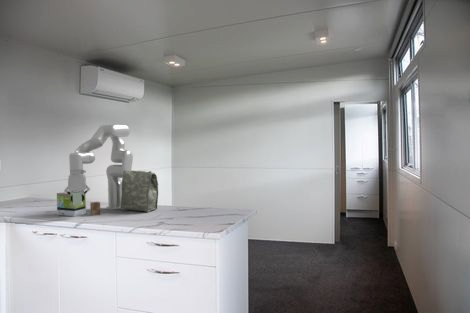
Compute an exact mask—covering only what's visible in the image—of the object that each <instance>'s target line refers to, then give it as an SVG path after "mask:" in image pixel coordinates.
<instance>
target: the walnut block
mask: <svg viewBox="0 0 470 313" xmlns="http://www.w3.org/2000/svg"><path fill="white" fill-rule="evenodd" d="M90 215H91V216H100V215H101V202H100V201H91V202H90Z"/></svg>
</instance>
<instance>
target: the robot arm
mask: <svg viewBox="0 0 470 313" xmlns="http://www.w3.org/2000/svg"><path fill="white" fill-rule="evenodd" d="M130 133H131V129H130V127H129V125H126V124H113V123H112V124H102V125H100V126H99V127H98V128H97V130H96V132H94V134H93V135H92V136H91V138H89V140H86V141H85V142H83V143H81V145H79V146H78V147H77V148H76V149H75V150H74V152H71V153H69V155H68V160H69V175H68V178H67V187H65V189H64V191H63V192H66V193H68V194H69V195H70V196H71V201H72V202H73V192H75V191H81V192H82V202H83V201H84V200H85V197H86V194H87V193H88V192H89V191H90V190H91V188H90V187H89V186H88V185H87V181H86V180H87V179H86V175H85V173H86V172H87V171H86V170H84V164H85V165H89V164H92V163H94V162H95V161H96V155H95V154H94V153H93V152H92V151H94V150H98V149H100V148H101V147H103V146H104V144H105V143H106V141H107V140H108V138H110V139H111V141H112V146H111V152H110V154H111V155H110V161H111V163H114V164H110V165H108V166H107V167H106V170H105V173H106V177H107V195H108V196H107V198H108V199H107V200H108V202H107V203H108V206H106V207H105V209H106V210H109V211H113V210H115V211H116V210H122V209H124V208H120V207H121V195H122V178H123V174H124V172H125V171H131V170H132V167H133V158H134V155H133V153H132V151H130V150H129V149H125V143H126V142H125V140H124V139H123V138H126V137H128V136H129V135H130ZM69 191H71V193H70V192H69ZM84 195H85V197H84Z"/></svg>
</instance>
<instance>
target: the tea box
mask: <svg viewBox="0 0 470 313" xmlns="http://www.w3.org/2000/svg"><path fill="white" fill-rule="evenodd" d="M68 191H69V190H68ZM69 192H70V193H71V191H69ZM84 197H85V200H84V201H83V204H82V205H75V206H73V202H72V201H71V196H70V195H69V194H68V193H66V192H65V191H62V192H57V193H56V213H57V214H56V215H57V216H67V217H79V216H82V215H85V214H86V213H87V212H86V211H87V210H86V208H87V206H86V205H87V204H86V200H87V199H86V194H85V195H84Z"/></svg>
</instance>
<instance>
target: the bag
mask: <svg viewBox="0 0 470 313" xmlns="http://www.w3.org/2000/svg"><path fill="white" fill-rule="evenodd" d="M121 182H122V195H121V207H120V208H123V209H124V210H125V209H126V210H131V211H139V212H146V213H149V212H151V211H154V210H156V209H157V210H158V200H159V183H158V175H157V174H156V172H152V171H150V170H149V171H146V170H145V171H144V170H132V169H131V171H125V172H124V174H123V178H121Z"/></svg>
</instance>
